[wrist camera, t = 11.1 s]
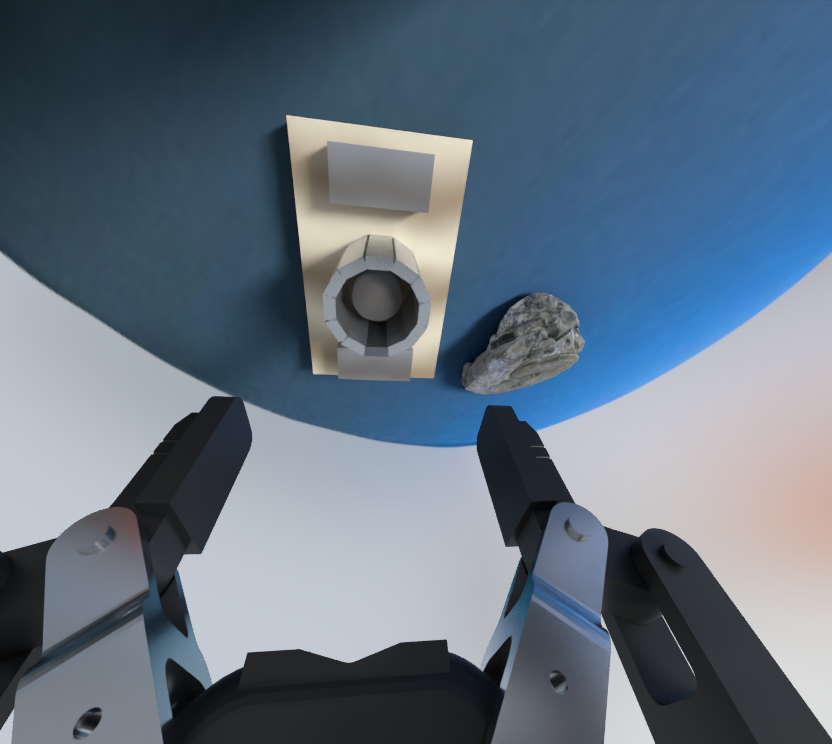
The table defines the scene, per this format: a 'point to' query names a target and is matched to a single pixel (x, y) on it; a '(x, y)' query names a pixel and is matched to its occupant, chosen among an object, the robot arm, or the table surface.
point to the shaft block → (375, 229)
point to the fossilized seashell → (527, 347)
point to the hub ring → (369, 333)
